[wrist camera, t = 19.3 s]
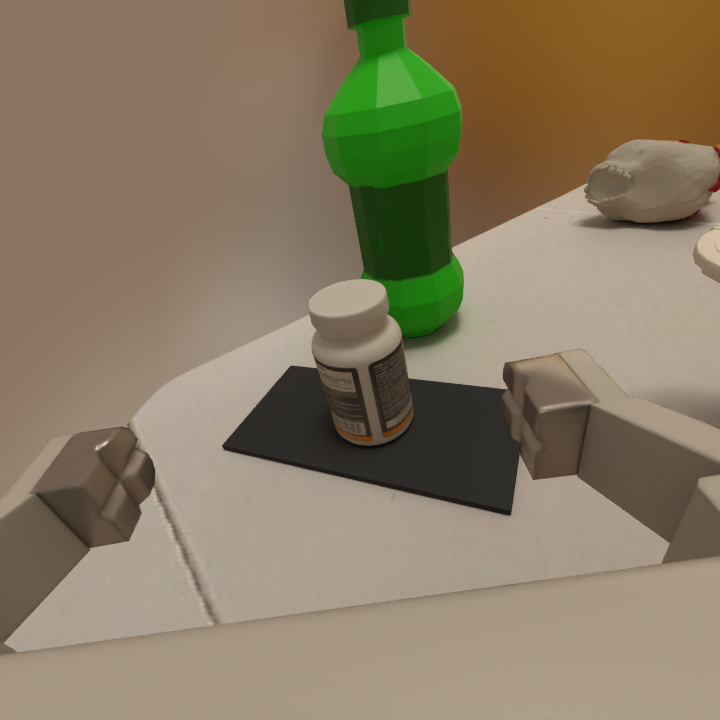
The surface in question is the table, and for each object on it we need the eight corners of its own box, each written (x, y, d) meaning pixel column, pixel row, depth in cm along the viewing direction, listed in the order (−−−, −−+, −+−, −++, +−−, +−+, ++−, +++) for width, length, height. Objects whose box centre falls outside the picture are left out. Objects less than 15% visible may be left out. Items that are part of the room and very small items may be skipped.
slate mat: (223, 449, 30) (221, 445, 30) (291, 368, 37) (290, 365, 37) (510, 515, 22) (511, 511, 22) (527, 395, 29) (527, 391, 29)
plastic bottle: (342, 332, 41) (267, 13, 27) (414, 290, 46) (381, 1, 32) (416, 367, 34) (366, -37, 20) (491, 313, 39) (492, -43, 25)
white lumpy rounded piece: (573, 221, 53) (651, 204, 58) (660, 240, 44) (744, 218, 49) (589, 142, 48) (672, 131, 53) (690, 145, 39) (779, 132, 44)
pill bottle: (397, 385, 32) (378, 266, 27) (426, 434, 27) (410, 301, 22) (328, 408, 31) (293, 290, 26) (345, 461, 27) (307, 331, 21)
